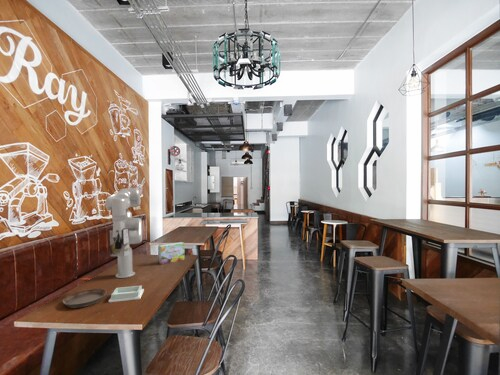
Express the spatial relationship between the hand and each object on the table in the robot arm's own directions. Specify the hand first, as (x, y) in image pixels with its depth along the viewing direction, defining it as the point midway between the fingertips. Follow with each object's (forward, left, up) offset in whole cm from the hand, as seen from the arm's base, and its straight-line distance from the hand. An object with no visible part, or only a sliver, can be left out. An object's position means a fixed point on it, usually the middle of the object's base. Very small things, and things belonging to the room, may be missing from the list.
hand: (119, 247), depth 165 cm
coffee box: (0, 0, -5) cm, 5 cm away
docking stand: (+12, +6, -26) cm, 29 cm away
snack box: (-57, +26, -26) cm, 68 cm away
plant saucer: (+13, -15, -26) cm, 33 cm away
